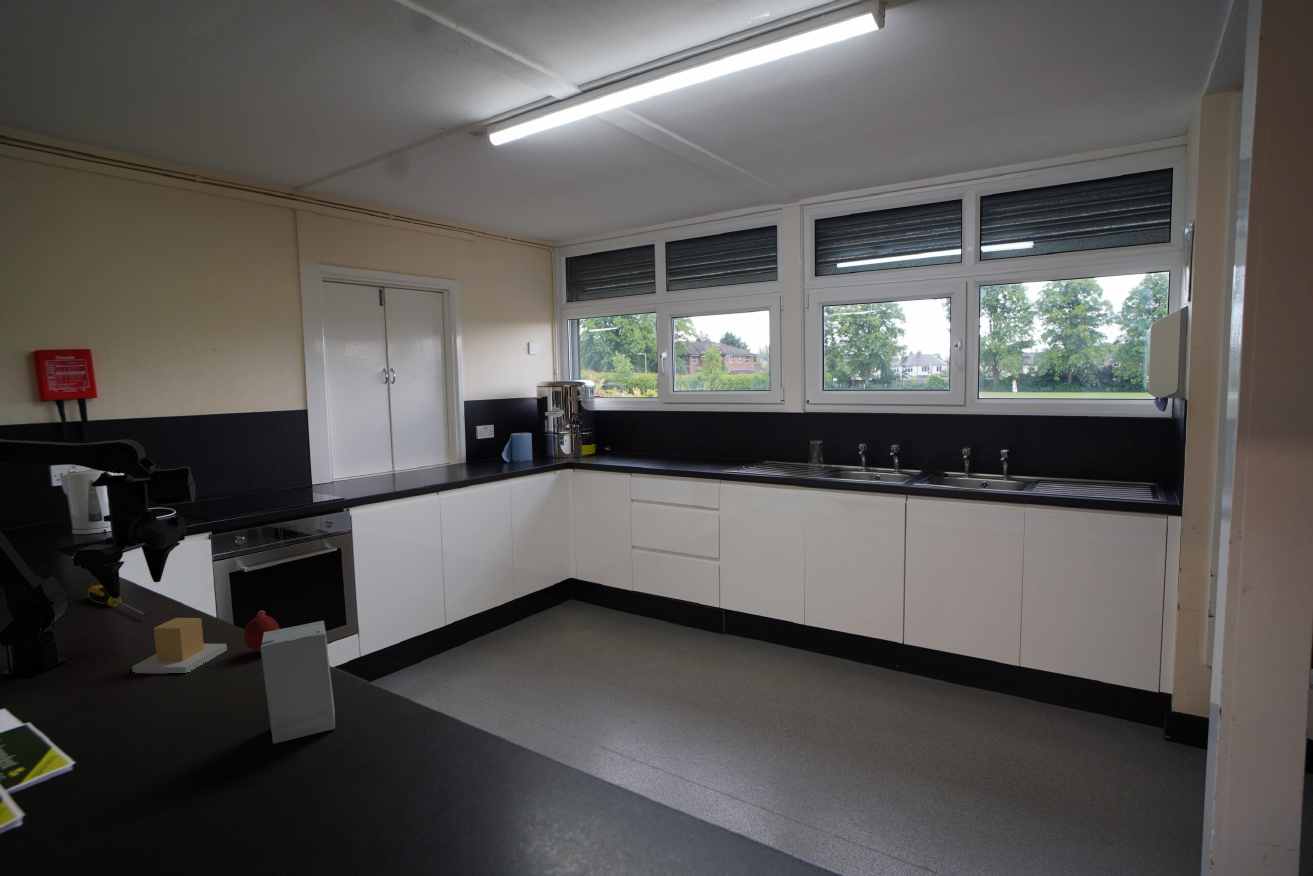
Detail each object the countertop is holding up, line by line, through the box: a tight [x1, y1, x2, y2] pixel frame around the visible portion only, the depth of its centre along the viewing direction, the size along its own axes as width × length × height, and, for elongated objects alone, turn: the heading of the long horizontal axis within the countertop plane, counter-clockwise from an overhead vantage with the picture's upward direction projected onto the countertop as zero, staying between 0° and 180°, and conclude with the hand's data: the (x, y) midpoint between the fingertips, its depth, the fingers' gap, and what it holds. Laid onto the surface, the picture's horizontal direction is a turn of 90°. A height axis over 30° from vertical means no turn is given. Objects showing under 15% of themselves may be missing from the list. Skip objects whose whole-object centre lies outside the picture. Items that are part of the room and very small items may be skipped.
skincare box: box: [260, 620, 336, 745], centre depth 98 cm, size 8×6×15 cm
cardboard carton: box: [153, 617, 205, 661], centre depth 123 cm, size 5×5×6 cm
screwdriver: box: [87, 584, 149, 618], centre depth 153 cm, size 3×3×30 cm
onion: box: [243, 610, 281, 654], centre depth 126 cm, size 6×6×8 cm
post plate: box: [131, 643, 228, 674], centre depth 123 cm, size 10×10×6 cm
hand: (137, 589), depth 127 cm, fingers open, 9 cm apart
